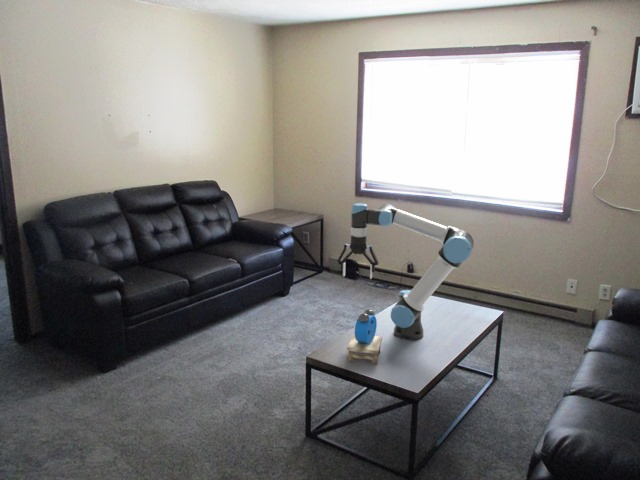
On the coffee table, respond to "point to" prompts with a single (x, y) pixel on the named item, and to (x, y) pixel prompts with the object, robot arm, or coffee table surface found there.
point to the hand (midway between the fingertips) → (357, 277)
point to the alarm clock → (365, 327)
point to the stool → (364, 349)
